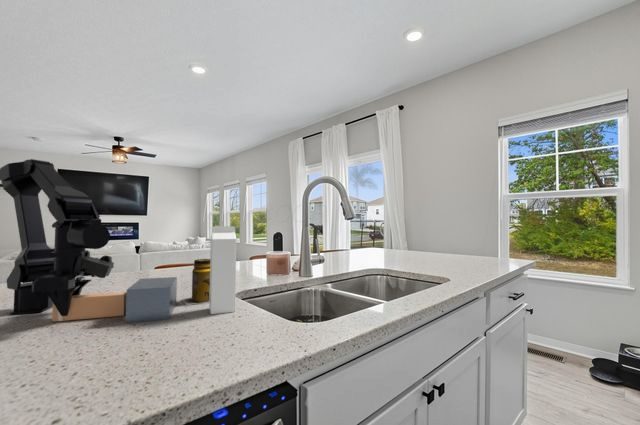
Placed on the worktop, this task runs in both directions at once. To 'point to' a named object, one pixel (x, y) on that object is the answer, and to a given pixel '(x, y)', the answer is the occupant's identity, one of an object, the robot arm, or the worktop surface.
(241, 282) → the worktop surface
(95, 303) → the tan banded carton
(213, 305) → the milk
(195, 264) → the condiment
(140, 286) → the gray block
